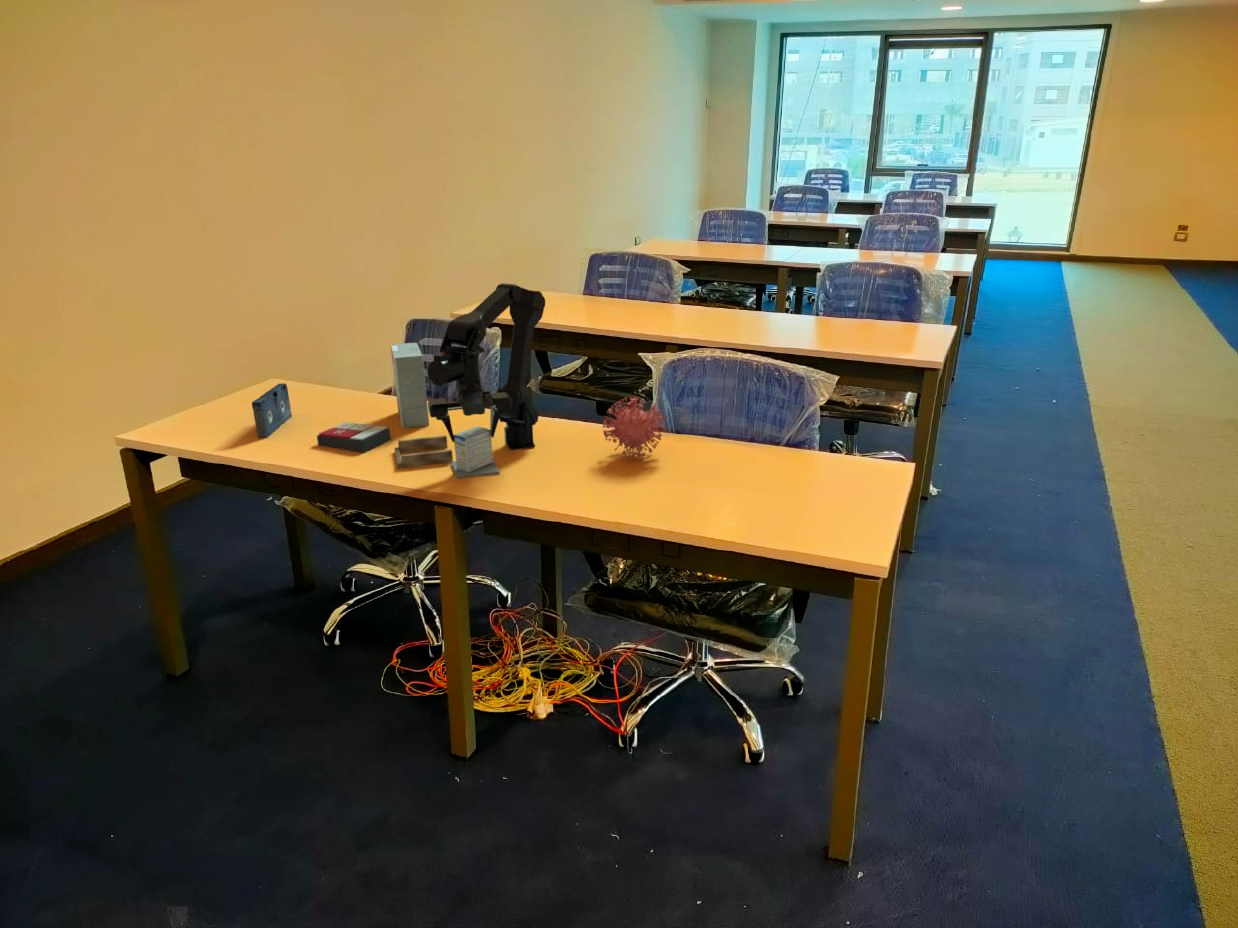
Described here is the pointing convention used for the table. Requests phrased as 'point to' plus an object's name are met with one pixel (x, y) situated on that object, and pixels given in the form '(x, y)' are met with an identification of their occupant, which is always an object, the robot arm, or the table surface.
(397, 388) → the hard drive box
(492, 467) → the rubber mat
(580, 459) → the table surface
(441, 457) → the wooden rack
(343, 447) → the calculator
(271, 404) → the vhs cassette tape
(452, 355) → the robot arm
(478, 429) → the medicine box
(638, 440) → the virus model
